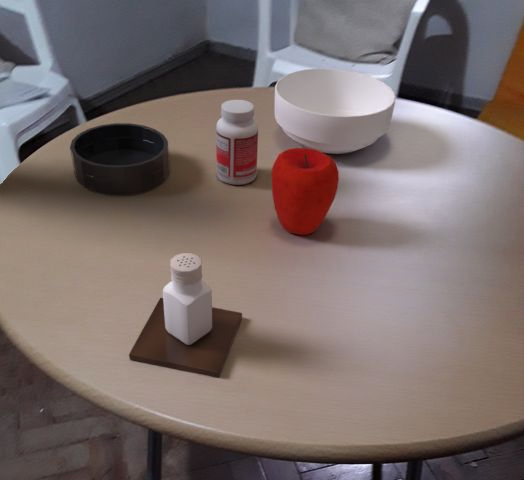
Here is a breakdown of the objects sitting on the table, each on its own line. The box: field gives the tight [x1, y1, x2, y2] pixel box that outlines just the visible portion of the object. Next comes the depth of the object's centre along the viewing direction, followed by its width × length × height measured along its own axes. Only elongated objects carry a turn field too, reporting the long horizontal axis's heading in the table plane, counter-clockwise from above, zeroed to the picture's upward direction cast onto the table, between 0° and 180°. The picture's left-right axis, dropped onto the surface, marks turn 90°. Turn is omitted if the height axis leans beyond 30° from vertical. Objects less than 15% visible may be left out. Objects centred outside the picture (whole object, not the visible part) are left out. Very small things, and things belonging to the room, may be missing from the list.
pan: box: [69, 122, 170, 196], centre depth 95 cm, size 14×14×4 cm
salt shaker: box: [162, 252, 213, 345], centre depth 67 cm, size 4×4×10 cm
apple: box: [271, 147, 340, 236], centre depth 84 cm, size 9×9×11 cm
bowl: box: [274, 67, 397, 155], centre depth 105 cm, size 20×20×8 cm
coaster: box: [128, 297, 243, 378], centre depth 70 cm, size 10×10×1 cm
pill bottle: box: [215, 99, 259, 186], centre depth 93 cm, size 6×6×11 cm
